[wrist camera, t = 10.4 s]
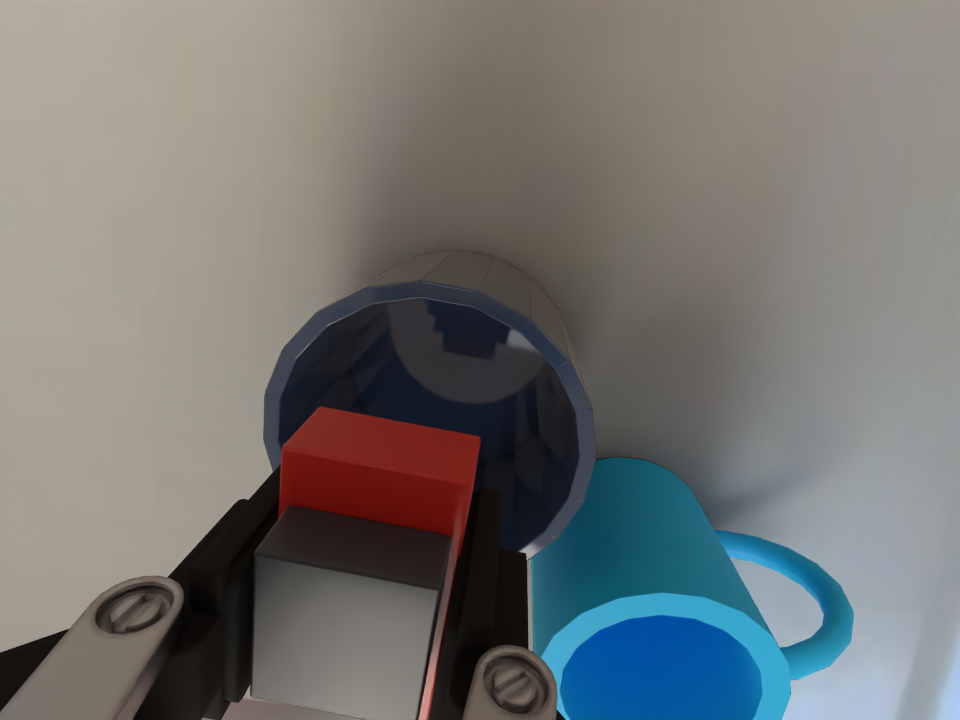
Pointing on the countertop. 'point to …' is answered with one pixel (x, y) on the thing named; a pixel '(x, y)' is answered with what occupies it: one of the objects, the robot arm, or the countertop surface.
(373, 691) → the car
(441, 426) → the cup
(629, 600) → the mug
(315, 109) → the countertop surface
